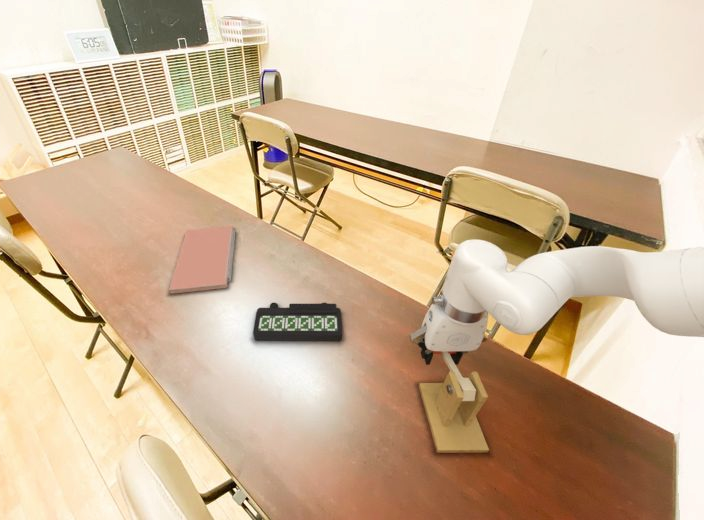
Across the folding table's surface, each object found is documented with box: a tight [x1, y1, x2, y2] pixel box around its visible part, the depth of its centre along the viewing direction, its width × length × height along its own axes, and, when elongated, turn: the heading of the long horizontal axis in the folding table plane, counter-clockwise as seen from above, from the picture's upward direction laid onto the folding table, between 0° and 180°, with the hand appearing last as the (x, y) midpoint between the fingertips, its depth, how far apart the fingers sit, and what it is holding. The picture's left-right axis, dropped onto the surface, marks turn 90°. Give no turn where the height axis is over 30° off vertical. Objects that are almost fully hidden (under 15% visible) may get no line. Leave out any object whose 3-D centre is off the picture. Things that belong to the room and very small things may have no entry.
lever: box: [432, 351, 476, 401], centre depth 61 cm, size 12×5×2 cm, turn 179°
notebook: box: [168, 225, 236, 295], centre depth 101 cm, size 27×17×2 cm, turn 6°
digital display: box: [252, 302, 343, 342], centre depth 80 cm, size 21×3×10 cm
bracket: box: [418, 371, 490, 454], centre depth 59 cm, size 12×9×13 cm
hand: (439, 357), depth 68 cm, fingers closed on lever, 5 cm apart
